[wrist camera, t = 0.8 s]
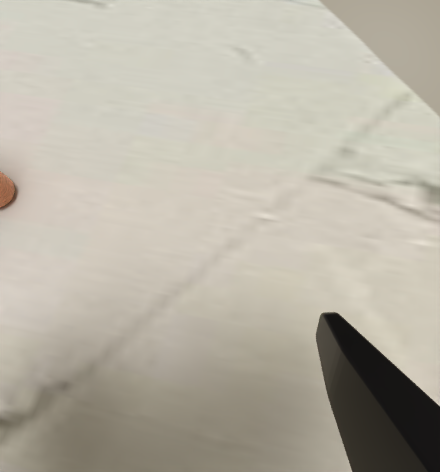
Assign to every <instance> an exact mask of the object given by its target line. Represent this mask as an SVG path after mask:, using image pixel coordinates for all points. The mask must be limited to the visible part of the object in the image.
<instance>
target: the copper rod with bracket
mask: <svg viewBox="0 0 440 472" xmlns="http://www.w3.org/2000/svg"><path fill="white" fill-rule="evenodd" d="M14 192H15V187H14V184H13V182H12V181H11V180H10V179H9V178H8V177H7V176H6V175H4V174H3V173H2V172H1V171H0V207H3V206H5V205H6V204H7V203H9V202H10V201H11V199H12V198H13V195H14Z"/></svg>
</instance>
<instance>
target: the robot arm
mask: <svg viewBox="0 0 440 472" xmlns="http://www.w3.org/2000/svg"><path fill="white" fill-rule="evenodd" d="M316 342H317V347H318V352H319V356H320V361H321V366H322V371H323V376H324V380H325V385H326V390H327V394H328V398H329V401H330V405H331V408H332V411H333V414H334V417H335V420H336V423H337V426H338V429H339V432H340V435H341V438H342V441H343V444H344V447H345V451H346V454H347V457H348V460H349V463H350V466H351V469H352V472H440V406H439V405H438V404H437V403H435V402H434V401H433V400H432V399H431V398H430V397H429V396H428V395H427V394H426V393H425V392H423V391H422V390H421V389H420V388H419V387H418V386H417V385H416V384H415V383H414V382H413V381H411V380H410V379H409V378H408V377H407V376H406V375H405V374H404V373H403V372H402V371H401V370H399V369H398V368H397V367H396V366H395V365H394V364H393V363H392V362H391V361H390V360H389V359H387V358H386V357H385V356H384V355H383V354H382V353H381V352H380V351H379V350H378V349H376V348H375V347H374V346H373V345H372V344H371V343H370V342H369V341H368V340H367V339H366V338H364V337H363V336H362V335H361V334H360V333H359V332H358V331H357V330H356V329H355V328H354V327H352V326H351V325H350V324H349V323H348V322H347V321H346V320H345V319H344V318H343V317H342V316H340V315H339V314H338V313H336V312H327V313H322V314H321V315H320V319H319V323H318V327H317V332H316Z"/></svg>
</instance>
